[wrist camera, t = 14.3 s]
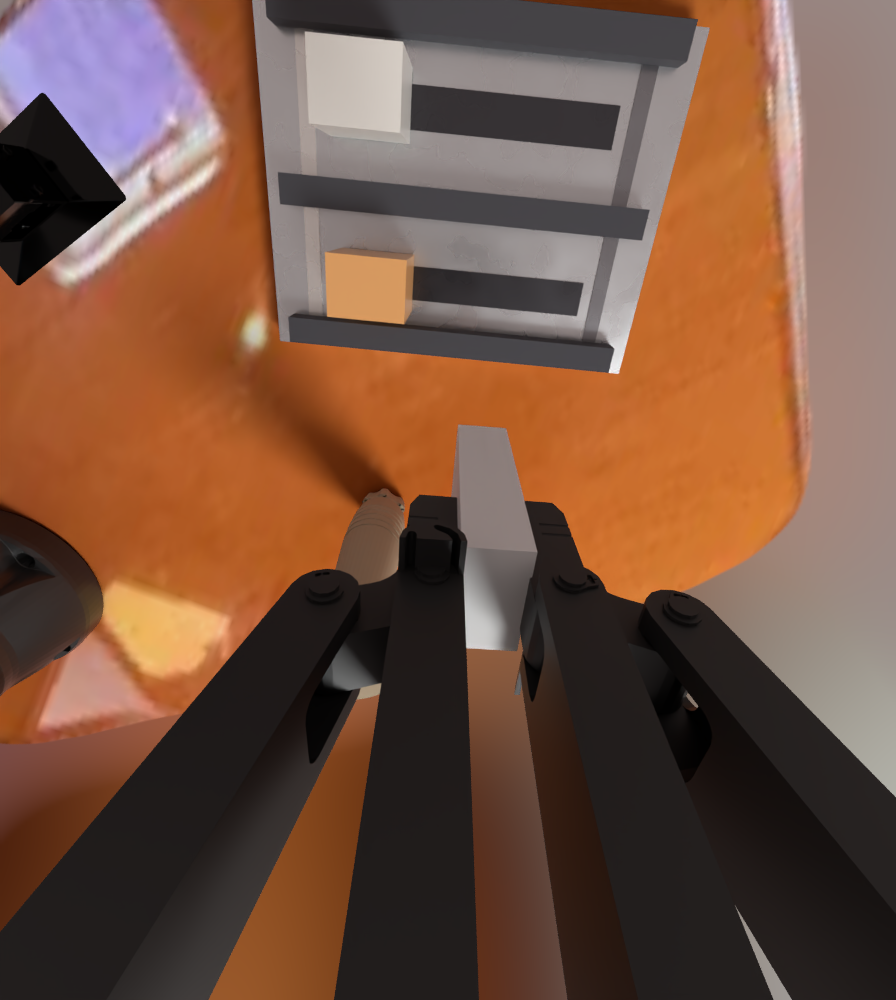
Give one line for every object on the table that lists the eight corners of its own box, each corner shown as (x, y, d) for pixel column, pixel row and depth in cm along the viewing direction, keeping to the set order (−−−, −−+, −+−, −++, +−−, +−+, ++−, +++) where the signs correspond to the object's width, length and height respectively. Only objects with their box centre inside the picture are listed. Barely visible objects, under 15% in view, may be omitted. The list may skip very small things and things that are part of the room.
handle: (396, 459, 36) (355, 598, 23) (429, 529, 39) (410, 687, 26) (337, 479, 37) (266, 624, 24) (374, 546, 40) (328, 707, 27)
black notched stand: (57, 59, 26) (-19, 29, 22) (160, 202, 29) (109, 199, 25) (-82, 195, 29) (-170, 192, 25) (23, 311, 32) (-41, 324, 28)
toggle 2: (343, 304, 29) (327, 316, 26) (343, 247, 27) (324, 252, 24) (411, 311, 29) (404, 324, 26) (414, 254, 28) (406, 260, 24)
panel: (288, 335, 32) (279, 340, 30) (262, -9, 24) (250, -22, 22) (612, 367, 32) (618, 374, 31) (696, 38, 24) (710, 27, 22)
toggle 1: (330, 136, 25) (308, 123, 22) (328, 58, 23) (304, 31, 20) (409, 144, 25) (400, 132, 22) (412, 67, 24) (403, 41, 20)
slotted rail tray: (296, 337, 30) (289, 341, 29) (272, -16, 22) (263, -27, 21) (603, 367, 30) (608, 372, 29) (687, 28, 23) (697, 19, 22)
